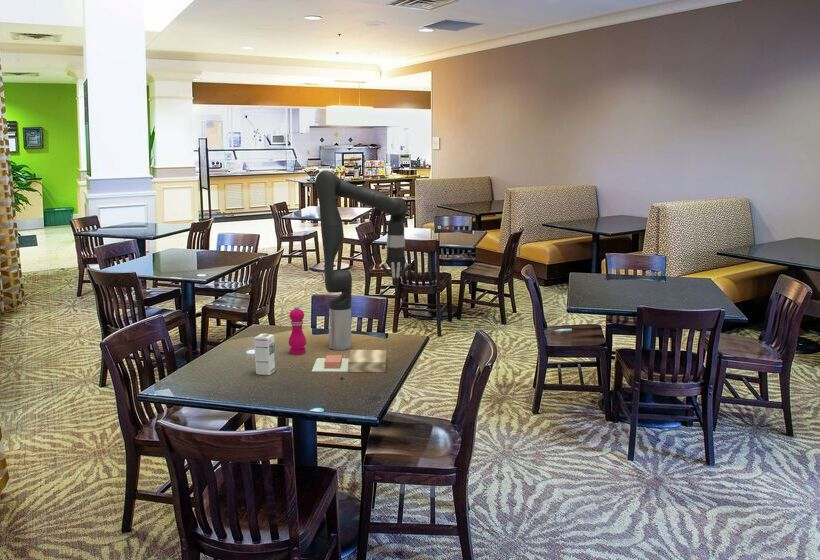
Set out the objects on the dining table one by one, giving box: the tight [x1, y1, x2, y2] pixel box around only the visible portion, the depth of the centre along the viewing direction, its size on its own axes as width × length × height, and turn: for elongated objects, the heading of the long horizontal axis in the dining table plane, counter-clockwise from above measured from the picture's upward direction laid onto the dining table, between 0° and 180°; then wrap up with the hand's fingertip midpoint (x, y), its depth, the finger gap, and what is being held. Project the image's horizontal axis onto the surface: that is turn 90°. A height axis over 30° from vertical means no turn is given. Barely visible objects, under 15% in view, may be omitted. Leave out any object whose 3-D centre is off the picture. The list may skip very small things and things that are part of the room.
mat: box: [311, 357, 349, 373], centre depth 269 cm, size 14×16×1 cm
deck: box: [347, 349, 387, 373], centre depth 269 cm, size 14×16×4 cm
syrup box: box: [253, 333, 277, 376], centre depth 259 cm, size 6×6×14 cm
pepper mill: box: [288, 305, 307, 355], centre depth 284 cm, size 7×7×20 cm
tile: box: [324, 354, 343, 368], centre depth 268 cm, size 6×9×2 cm, turn 0°
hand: (395, 286), depth 291 cm, fingers closed
